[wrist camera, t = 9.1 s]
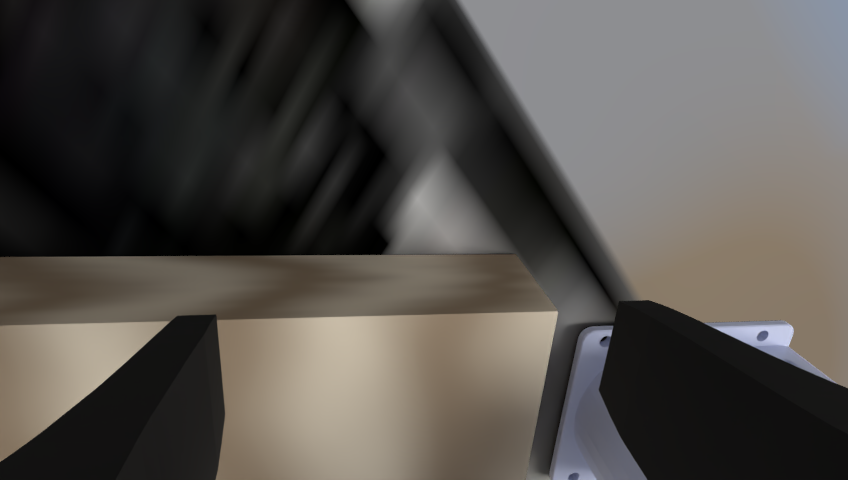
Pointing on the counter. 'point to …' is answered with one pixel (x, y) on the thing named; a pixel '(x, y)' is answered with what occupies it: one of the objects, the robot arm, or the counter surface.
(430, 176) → the counter surface
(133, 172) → the counter surface
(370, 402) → the birch plate
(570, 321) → the counter surface
